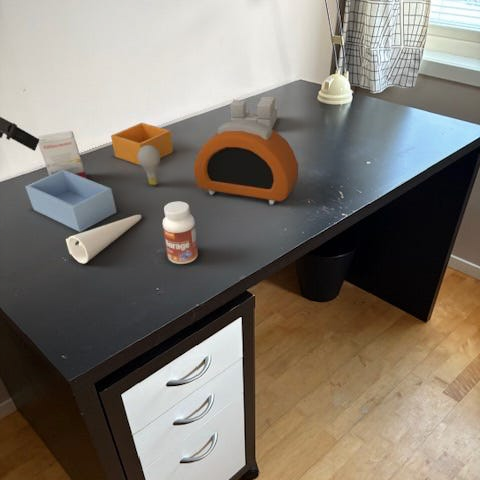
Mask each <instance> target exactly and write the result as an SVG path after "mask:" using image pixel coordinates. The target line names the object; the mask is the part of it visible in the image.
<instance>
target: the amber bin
mask: <svg viewBox="0 0 480 480" xmlns="http://www.w3.org/2000/svg"><path fill="white" fill-rule="evenodd" d="M110 139H111V143H112V147H113V152H114V157H115V158H117V159H121V160H124V161H127V162H130V163H133V164H135V165H137V166H138V165H139V166H141V165H140V164H139V162H138V158H137V155H138V151H139V150H140V148H142V147H143V146H146V145H151V146H153V147H155V148H156V149H157V150H158V151H159V153H160V159H162V158H164V157H165V156H168V155H170V154H172V153H174V147H173V140H172V131H171V130H170V129H165V128H162V127H158V126H155V125H152V124H148V123H145V122H140V123H137V124H135V125H133V126H130V127H128V128H125V129H123V130H121V131H119V132H116V133H113V134H112V135H110Z"/></svg>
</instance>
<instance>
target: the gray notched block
mask: <svg viewBox="0 0 480 480" xmlns="http://www.w3.org/2000/svg"><path fill="white" fill-rule="evenodd" d="M256 106H257V111H256V112H257V113H256V114H251V113H250V109H247V100H246V99H233V100H232V102H231V103H230V119H231V120H230V121H234V120H250V121H255V122H258V123H261V124H264V125H266V126H268V127H270V128H271V129H272V130H273V128H274V125H275V124H276V122H277V120H278V106H277V105H276V97H275V96H262V97H261V99H260V101H259V102H258V104H257V105H256Z"/></svg>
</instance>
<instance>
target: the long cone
mask: <svg viewBox="0 0 480 480" xmlns="http://www.w3.org/2000/svg"><path fill="white" fill-rule="evenodd" d="M141 219H142V215H141V214H134V215H132V216H129V217H126V218H123V219H120V220H117V221H113V222H110V223H107V224H104V225H101V226H98V227H94V228H92V229H89V230H85V231H81V232H79V233H77V234H74V235H70V236H69V237H68V238H65V242H66V246H67V250H68V253H69V255H71V256H72V257H73V259H74V260H76V261H77V262H78V263H80V264H87V263H88V262H90V260H92V259H93V258H95V257H96V256H97V255H99V253H100V252H102V251H103V250H105V249H106V248H107V247H108V246H109V245H110V244H112V243H113V242H114V241H116V240H117V239H118V238H120V237H121V236H122V235H123V234H124V233H125V232H127V231H128V230H130V229H131V228H132V227H133V226H134V225H136V224H137V223H138V222H140V220H141ZM77 242H78V244H76V243H77Z"/></svg>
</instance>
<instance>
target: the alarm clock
mask: <svg viewBox="0 0 480 480" xmlns="http://www.w3.org/2000/svg"><path fill="white" fill-rule="evenodd" d="M193 173H194V179H195V183H196V185H197V186H198V187H199V188H200V189H201V190H204V191H208V193H209V195H210V196H212V195H214V194H215V193H216V192H217V193H224V194H230V195H237V196H242V197H243V196H244V197H249V198H255V199H261V200H262V199H263V200H268V203H269V205H274V204H275V202H282V201H284V200H286V199H287V198H288V197H289V195H290V193H291V192H292V191H293V189H294V188H295V186H296V184H297V181H298V177H299V163H298V160H297V158H296V155H295V152H294V151H293V148H292V147H291V145H290V143H289V142H288V141H287V140H286V139H285V138H284V137H283V135H281V134H280V133H278V132H277V131H276V130H274V129H273V128H272V129H271V128H270V127H268V126H266V125H264V124H261V123H258V122H255V121H250V120H234V121H231V120H229V121H225V122H224V123H222V124H221V125H219V127H218V128H217V132H216V133H215V134H214V135H213V136H212V137H211V138H210V139H208V141H206V142H205V143H204V144H203V145H202V147H201V148H200V151H199V152H198V154H197V156H196V158H195V161H194V165H193Z"/></svg>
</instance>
